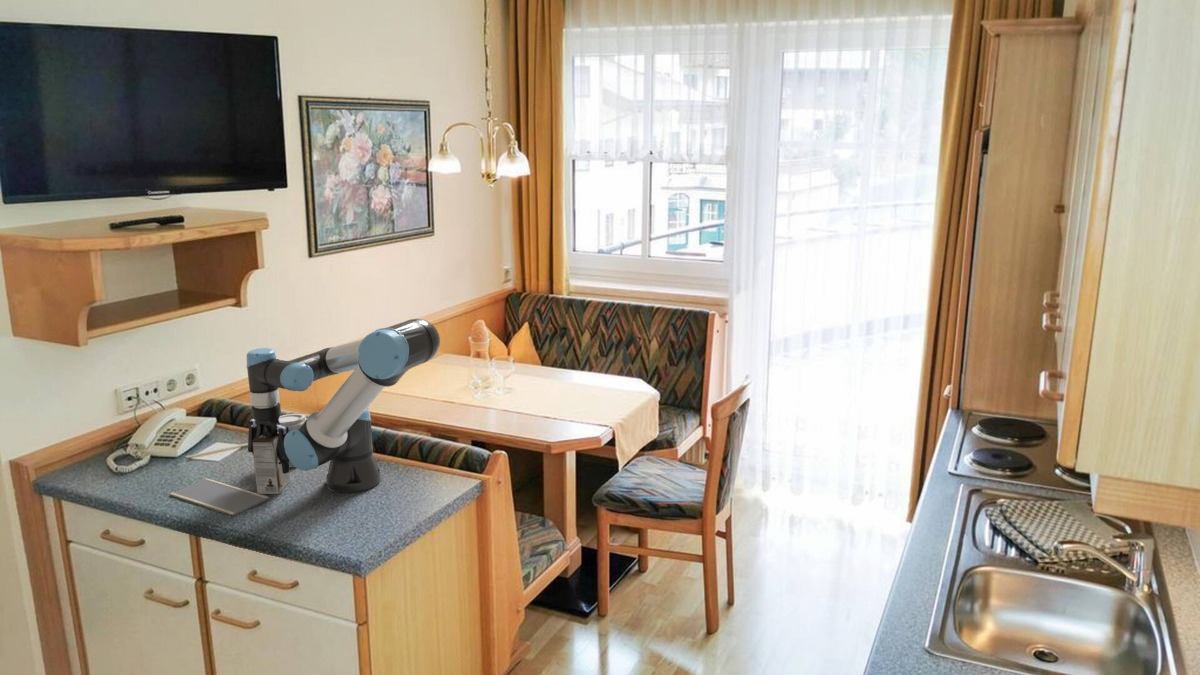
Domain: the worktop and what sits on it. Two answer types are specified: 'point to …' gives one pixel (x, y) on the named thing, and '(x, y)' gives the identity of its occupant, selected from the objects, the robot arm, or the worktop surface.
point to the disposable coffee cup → (292, 423)
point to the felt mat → (219, 496)
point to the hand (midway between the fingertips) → (273, 479)
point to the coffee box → (267, 465)
